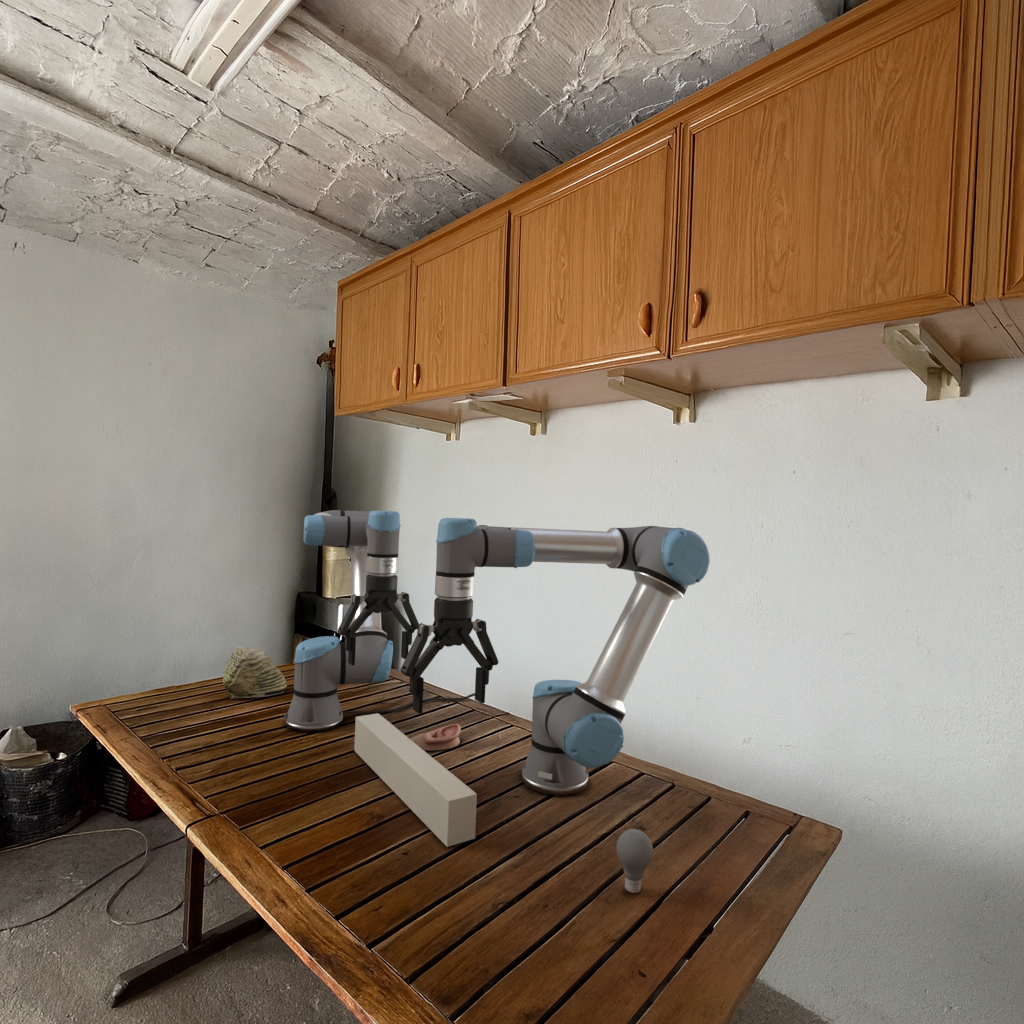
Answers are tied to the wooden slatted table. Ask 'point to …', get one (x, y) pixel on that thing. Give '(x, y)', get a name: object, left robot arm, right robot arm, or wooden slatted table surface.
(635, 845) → the light bulb
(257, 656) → the fossil
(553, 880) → the wooden slatted table surface
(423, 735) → the anatomical model
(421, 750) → the post
